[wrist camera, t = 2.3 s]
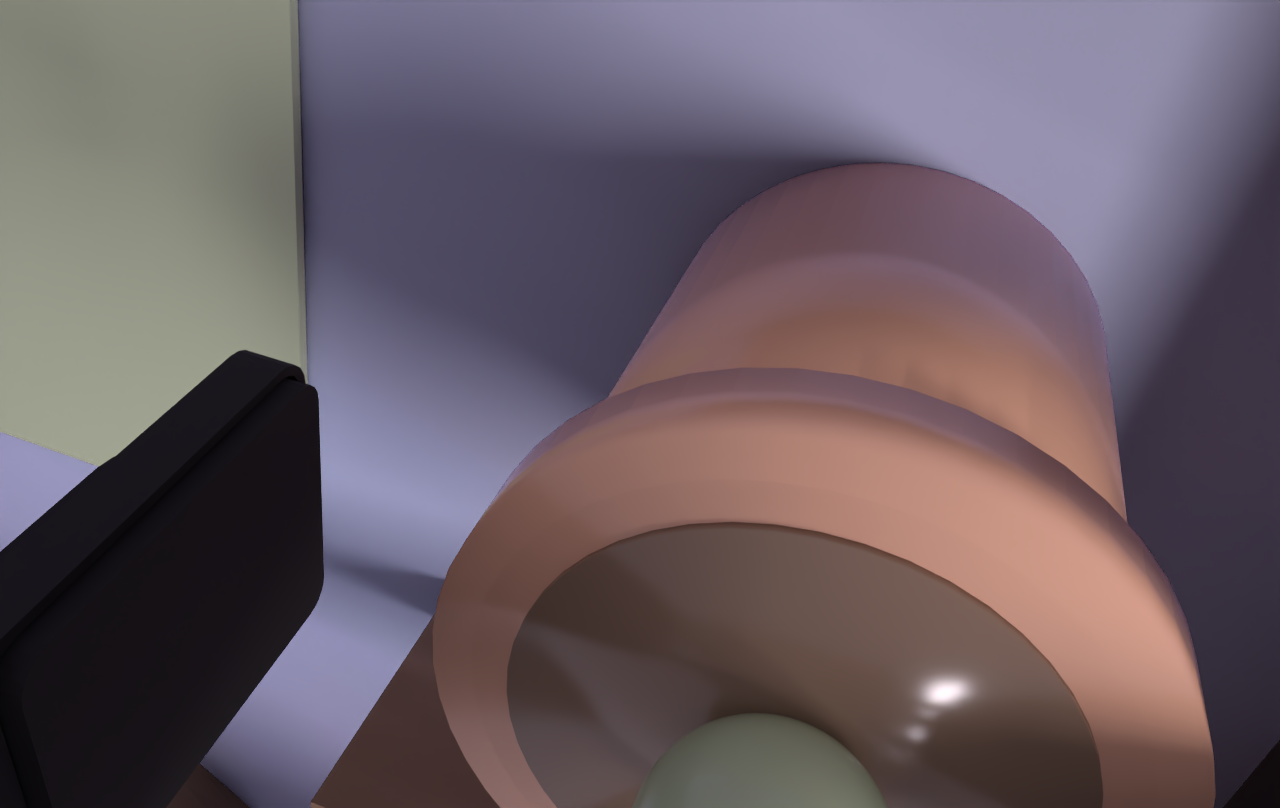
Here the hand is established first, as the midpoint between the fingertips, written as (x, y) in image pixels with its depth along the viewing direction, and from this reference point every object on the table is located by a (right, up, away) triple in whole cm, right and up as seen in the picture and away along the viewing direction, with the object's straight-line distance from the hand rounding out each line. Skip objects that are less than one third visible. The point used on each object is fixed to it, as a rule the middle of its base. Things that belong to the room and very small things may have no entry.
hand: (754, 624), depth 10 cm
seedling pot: (+2, +3, +5) cm, 6 cm away
